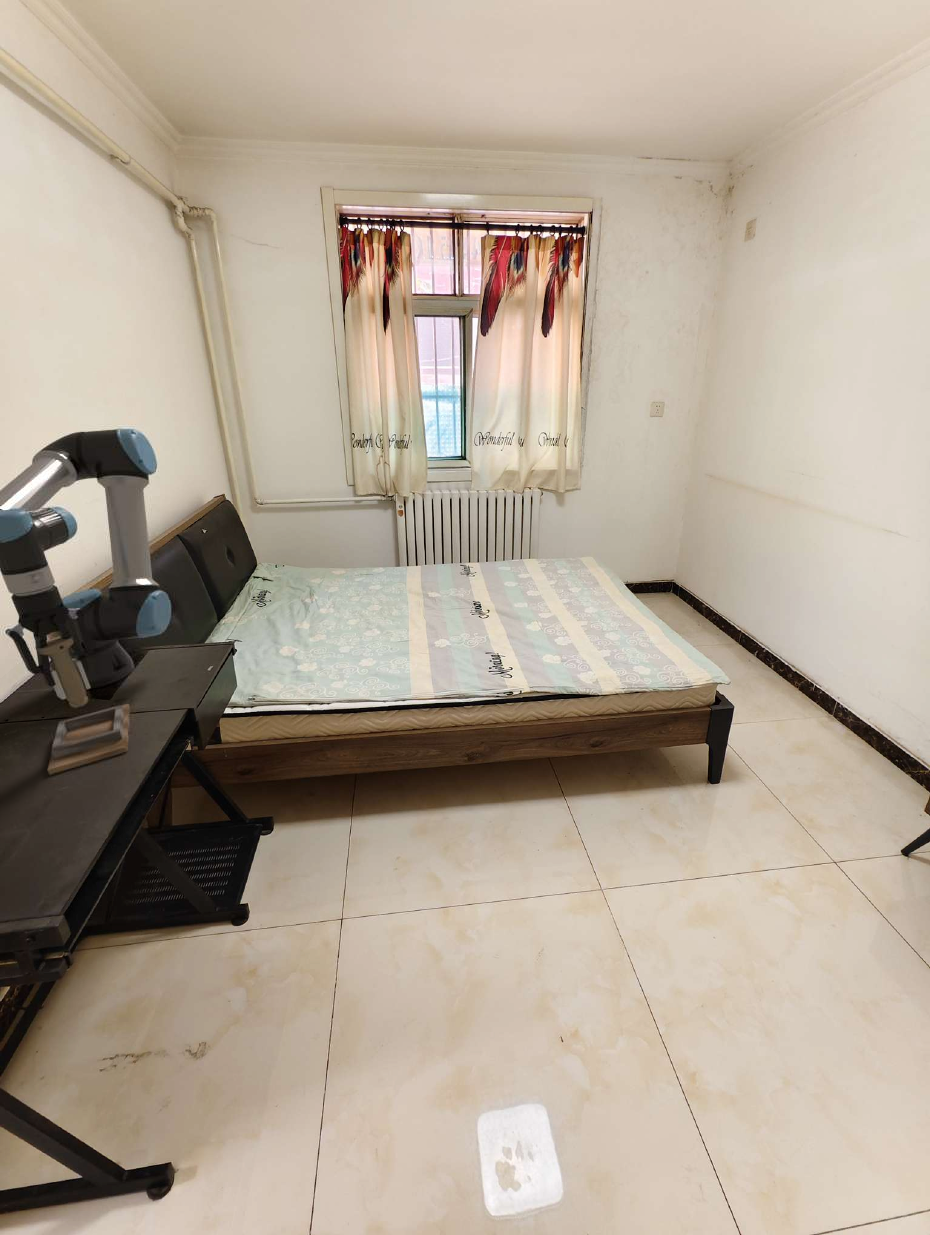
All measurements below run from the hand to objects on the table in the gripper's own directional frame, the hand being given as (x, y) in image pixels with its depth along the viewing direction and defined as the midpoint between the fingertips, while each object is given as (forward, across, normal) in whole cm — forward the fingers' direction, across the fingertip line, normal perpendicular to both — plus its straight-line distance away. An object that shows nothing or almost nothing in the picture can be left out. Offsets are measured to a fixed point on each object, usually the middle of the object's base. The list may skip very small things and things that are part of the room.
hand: (74, 691), depth 119 cm
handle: (+3, 0, 0) cm, 3 cm away
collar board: (+12, 0, 0) cm, 12 cm away
